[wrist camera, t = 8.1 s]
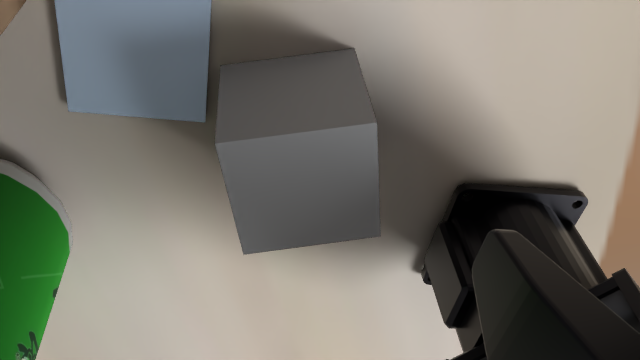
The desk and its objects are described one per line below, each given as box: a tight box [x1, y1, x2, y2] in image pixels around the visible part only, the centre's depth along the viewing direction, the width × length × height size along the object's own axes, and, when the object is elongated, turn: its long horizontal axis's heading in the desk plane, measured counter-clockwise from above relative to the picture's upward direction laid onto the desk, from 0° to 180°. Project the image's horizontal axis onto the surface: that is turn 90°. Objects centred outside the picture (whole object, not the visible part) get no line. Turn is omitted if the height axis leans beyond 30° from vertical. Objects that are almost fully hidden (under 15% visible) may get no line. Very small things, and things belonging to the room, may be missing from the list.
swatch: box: [54, 0, 212, 122], centre depth 20 cm, size 5×5×1 cm
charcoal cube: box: [215, 48, 381, 254], centre depth 21 cm, size 5×5×5 cm
